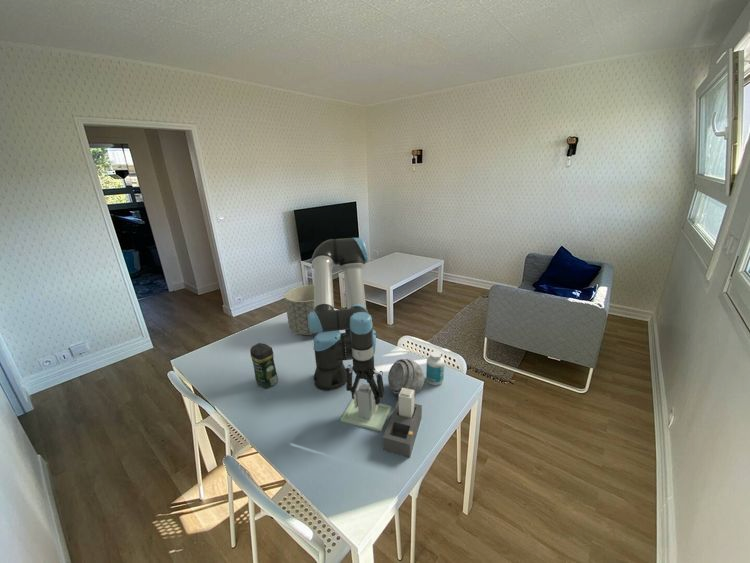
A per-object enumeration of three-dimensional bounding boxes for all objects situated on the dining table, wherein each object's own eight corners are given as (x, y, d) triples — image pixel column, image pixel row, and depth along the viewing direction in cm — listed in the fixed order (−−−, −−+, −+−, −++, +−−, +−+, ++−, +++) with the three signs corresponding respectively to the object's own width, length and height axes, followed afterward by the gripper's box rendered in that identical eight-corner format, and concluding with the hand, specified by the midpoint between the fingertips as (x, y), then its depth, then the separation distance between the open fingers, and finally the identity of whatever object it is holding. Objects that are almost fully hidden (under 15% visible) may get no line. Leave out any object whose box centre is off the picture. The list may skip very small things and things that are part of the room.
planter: (282, 339, 172) (276, 300, 164) (300, 319, 195) (295, 284, 187) (325, 342, 168) (321, 302, 160) (337, 321, 191) (334, 285, 183)
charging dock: (383, 451, 101) (381, 416, 96) (398, 412, 117) (397, 381, 112) (409, 458, 98) (409, 423, 93) (421, 418, 114) (422, 385, 109)
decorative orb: (383, 386, 132) (382, 356, 127) (413, 377, 137) (413, 348, 132) (398, 409, 119) (397, 377, 114) (430, 398, 124) (431, 367, 119)
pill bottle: (443, 387, 130) (444, 360, 125) (425, 385, 131) (426, 358, 127) (443, 376, 137) (444, 350, 132) (426, 374, 138) (427, 348, 134)
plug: (358, 417, 115) (356, 389, 111) (363, 408, 119) (361, 381, 115) (370, 420, 113) (368, 392, 109) (374, 411, 117) (372, 384, 113)
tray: (340, 422, 114) (340, 419, 113) (353, 400, 124) (353, 397, 124) (381, 432, 108) (381, 429, 108) (391, 409, 119) (391, 406, 118)
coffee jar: (253, 382, 138) (245, 347, 131) (268, 373, 143) (262, 339, 137) (265, 391, 132) (258, 354, 126) (281, 381, 138) (275, 345, 131)
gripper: (332, 356, 107) (338, 409, 115) (386, 366, 101) (388, 421, 109) (342, 345, 114) (346, 395, 122) (393, 354, 107) (394, 406, 115)
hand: (366, 407), depth 115 cm, fingers open, 7 cm apart
